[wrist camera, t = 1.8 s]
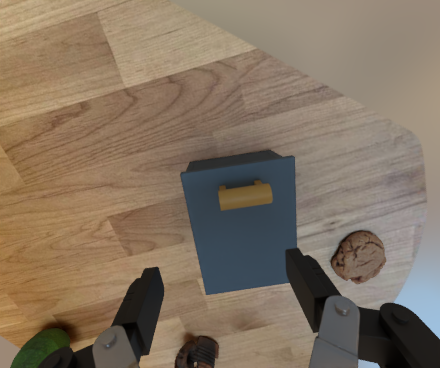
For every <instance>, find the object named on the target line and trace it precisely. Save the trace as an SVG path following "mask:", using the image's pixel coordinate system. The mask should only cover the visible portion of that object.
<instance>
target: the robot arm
mask: <svg viewBox="0 0 440 368" xmlns="http://www.w3.org/2000/svg"><path fill="white" fill-rule="evenodd" d="M285 261H286V274H287V277H288V280H289V282H290V284H291V286H292V289H293V291H294V293H295V295H296V297H297V299H298V301H299V303H300V306H301V308H302V310H303V312H304V314H305V316H306V318H307V320H308V323H309V325H310V327H311V329H312V331H313V333H316V332H319V333H318V336H316V338H315V342H314V346H313V350H312V354H311V359H310V363H309V367H308V368H358V359H360V360H365V361H369V362H374V363H378V365H379V366H380V368H440V339H439V338H438V337H437V336H436V335H435V334H434V333H433V332H432V331H431V330H430V329H429V328H428V327H427V326H426V325H425V323H424V322H422V320H421V319H419V317H418V316H417V315H416V314H414V312H412V311H411V310H409V309H408V308H406V307H404V306H402V305H399V304H395V303H385V304H383V305H382V306H381V307H380V310H373V309H367V308H361V307H358V306H356V304H355V303H354V302H352V301H351V300H350V299H348V298H346V297H343V296H342V295H341V294H340V293H339V291H338V290H337V288H336V287H335V286H334V284H333V283H332V281H331V280H330V279H329V277H328V276H327V275H326V274H325V272H324V270H323V269H322V268H321V266H320V265H319V264H318V262H317V261H316V260H315V259H314V258H312V257H311V256H309V255H306V256H303V254H302V253H301V251H300V250H299V248H292V249H286V250H285ZM163 297H164V285H163V282H162V278H161V275H160V271H159V268H158V267H152V268H145V269H144V271H143V273H142V276H141V278H137V279H136V280H135V281H134V282H133V283H132V284H131V285H130V287H129V289H128V291H127V293H126V295H125V297H124V299H123V302H122V304H121V306H120V308H119V310H118V312H117V314H116V317H115V319H114V321H113V323H112V325H111V327H110V328H108V329H106V330H105V331H103V332H102V333H101V334H100V335H99V336H98V338H97V339H96V340H95V342H94V344H92V345H90V346H88V347H85V348H83V349H81V350H79V351H76V352H73V350H72V349H71V348H70V347H62V348H59V349H57V350H55V351H54V352H52V353H51V354H49V355H48V356H47V357H46V358H45V359H44V360H43V361H42V362H41V363H40V364H39V366H38V367H37V368H140V367H139V361H140V358H141V356H144V355H149V352H150V348H151V344H152V340H153V336H154V332H155V328H156V325H157V321H158V317H159V313H160V309H161V305H162V301H163Z"/></svg>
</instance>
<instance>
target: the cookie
mask: <svg viewBox="0 0 440 368" xmlns="http://www.w3.org/2000/svg"><path fill="white" fill-rule="evenodd" d="M341 245H342V246H341V247H340V249H339V252H338V254H337V257H335V258H333V260H332V263H331V264H332V266H333V269H334V271H335V273H336V274H337V275H338V276H340V277H341V278H343V279H344V280H346V281H347V280H348V279H351V280H352V282H354V283H356V284H360V283H363V282H366V281H367V280H369V279H370V278H373V277H375V276H376V275H377V274H379V272H380V269H382V268H383V265H385V262H386V258H385V254H384V247H383V243H382V242H381V240H380V239H379V238H378V237H377V236H376V235H373V234H372V233H371V232H365V231H360V232H356V233H354V234H351V235H350V236H349V237H348V238H347V239H346V241H345V242H343V243H342V244H341Z"/></svg>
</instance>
